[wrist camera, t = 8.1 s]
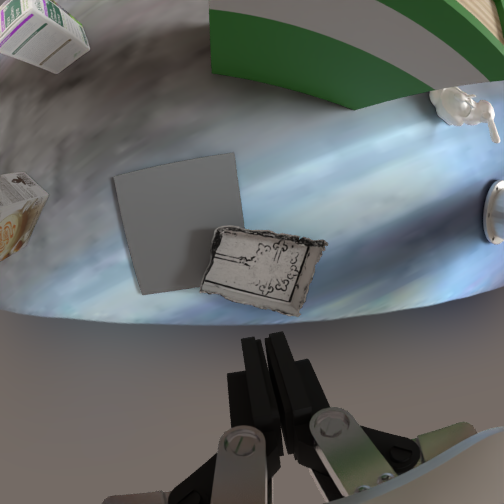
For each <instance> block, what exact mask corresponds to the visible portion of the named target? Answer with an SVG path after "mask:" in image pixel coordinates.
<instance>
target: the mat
mask: <svg viewBox="0 0 504 504" xmlns="http://www.w3.org/2000/svg"><path fill="white" fill-rule="evenodd" d="M114 181H115V187H116V192H117V197H118V202H119V207H120V212H121V217H122V221H123V226H124V230H125V234H126V239H127V243H128V247H129V251H130V254H131V258H132V262H133V266H134V269H135V273H136V276H137V280H138V283H139V286H140V290H141V293H142V295H147V294H154V293H161V292H168V291H175V290H182V289H189V288H195V287H201V282H202V279H203V276H204V273H205V271H206V269H207V267H208V266H209V264H210V259H211V254H210V246H211V241H212V239H213V237H214V232H215V230H216V229H217V228H218V227H222V226H229V225H230V226H238V227H240V228H243V229H245V227H244V220H243V213H242V206H241V199H240V191H239V184H238V177H237V170H236V162H235V155H234V153H227V154H220V155H214V156H208V157H202V158H196V159H190V160H185V161H180V162H174V163H169V164H164V165H160V166H155V167H150V168H146V169H142V170H137V171H133V172H129V173H125V174H121V175H117V176H114Z"/></svg>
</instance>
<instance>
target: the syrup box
mask: <svg viewBox="0 0 504 504" xmlns="http://www.w3.org/2000/svg"><path fill="white" fill-rule="evenodd" d="M88 51H90V47H89V44H88V41H87V38H86V35H85V32H84V29H83V27H82V24H81V23H80V22H78V21H77V20H76V19H75V18H74V17H73V16H71V15H70V14H69V13H68V12H67V11H65V10H64V9H63V8H62V7H61V6H59V5H58V4H57V3H56V2H55V1H53V0H6V1H5V2H4V3H3V4H2V5H1V6H0V53H2V54H4V55H7V56H10V57H13V58H16V59H18V60H21V61H24V62H26V63H29V64H32V65H34V66H37V67H39V68H42V69H44V70H47V71H49V72H52V73H54V74H58V73H60V72H61V71H62V70H64V69H65V68H66V67H68V66H69V65H70V64H72V63H73V62H74V61H76V60H77V59H78V58H80V57H81V56H83V55H84V54H85V53H87V52H88Z"/></svg>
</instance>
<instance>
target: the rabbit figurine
mask: <svg viewBox="0 0 504 504" xmlns="http://www.w3.org/2000/svg"><path fill="white" fill-rule="evenodd" d="M429 96H430V100H431V102H432V104H433V105H434V106H435V107H436V112H437V115H438V116H439V117H440V118H442V119H443V120H444V121H445V122H446V123H448V124H449V125H454V126H462V125H463V123H465V124H467V125H477V124H479V123H481V122H482V123H488V127H489V131H490V137H491V140H492V142H494V143H499V142H500V138H499V135H498V132H497V129H496V126H495V123H494V116H495V114H494V109H493V107H492V105H491V104H490V103H489V102H488V101H485V100H480V101H479V103H476V102H475V101H473V100H472V99H471V98H472V97H476V96H475V95H468V94H467V93H465V92H463V91H461V89H459V88H458V87H456V86H455V87H450V88H444V89H439V90H434V91H430V93H429Z"/></svg>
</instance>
